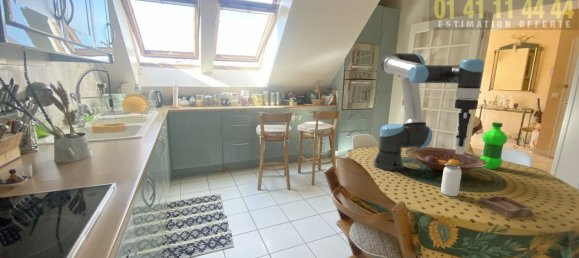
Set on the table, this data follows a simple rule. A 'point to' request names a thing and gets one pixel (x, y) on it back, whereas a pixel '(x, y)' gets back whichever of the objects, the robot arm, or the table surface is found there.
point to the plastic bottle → (494, 146)
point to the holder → (505, 206)
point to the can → (451, 180)
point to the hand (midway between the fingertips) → (459, 150)
